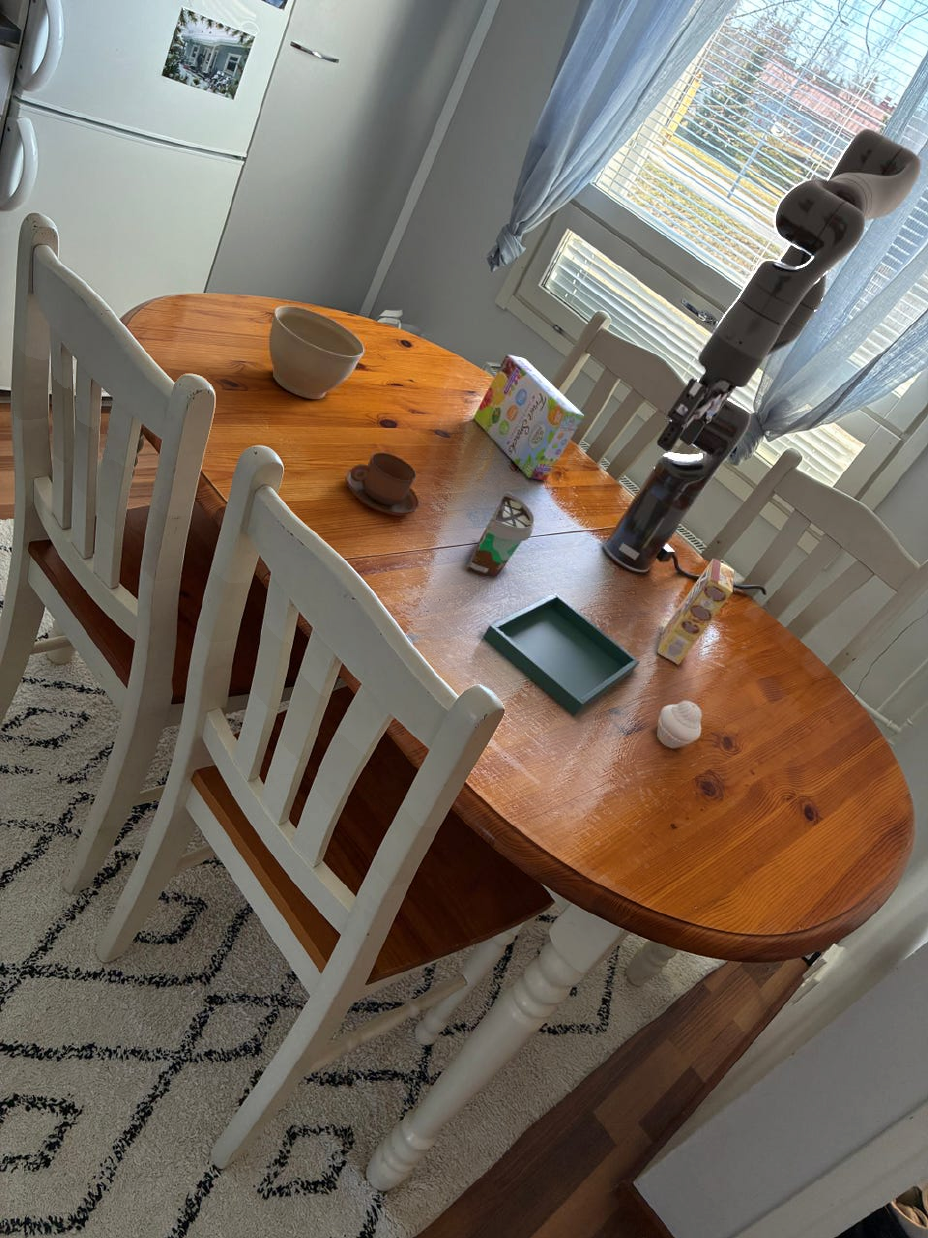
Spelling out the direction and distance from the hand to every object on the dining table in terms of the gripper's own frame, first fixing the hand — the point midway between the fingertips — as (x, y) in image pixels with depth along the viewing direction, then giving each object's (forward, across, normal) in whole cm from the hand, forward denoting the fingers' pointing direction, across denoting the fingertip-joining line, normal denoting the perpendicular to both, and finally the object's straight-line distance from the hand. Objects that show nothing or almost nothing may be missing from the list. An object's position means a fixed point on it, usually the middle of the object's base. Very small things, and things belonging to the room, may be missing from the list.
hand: (673, 444), depth 133 cm
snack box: (+30, +35, +36) cm, 59 cm away
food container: (+30, -7, +12) cm, 33 cm away
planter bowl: (+30, -1, +62) cm, 69 cm away
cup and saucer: (+30, -13, +32) cm, 46 cm away
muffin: (+30, -13, -25) cm, 42 cm away
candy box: (+30, +10, -15) cm, 35 cm away
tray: (+30, -14, -6) cm, 34 cm away
